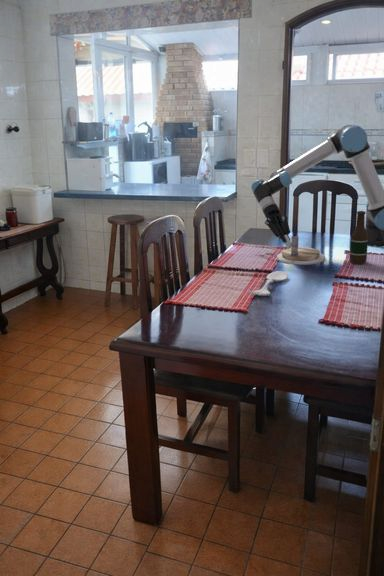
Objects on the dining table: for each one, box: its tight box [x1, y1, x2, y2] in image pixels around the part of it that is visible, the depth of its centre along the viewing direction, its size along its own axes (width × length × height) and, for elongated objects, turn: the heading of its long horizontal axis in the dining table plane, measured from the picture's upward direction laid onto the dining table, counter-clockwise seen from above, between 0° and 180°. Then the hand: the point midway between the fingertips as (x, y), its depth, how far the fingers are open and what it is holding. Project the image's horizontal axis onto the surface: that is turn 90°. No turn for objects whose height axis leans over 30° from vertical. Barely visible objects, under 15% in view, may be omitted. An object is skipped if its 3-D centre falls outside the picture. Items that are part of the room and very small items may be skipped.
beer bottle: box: [349, 210, 369, 265], centre depth 237 cm, size 8×8×24 cm
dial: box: [281, 235, 321, 261], centre depth 249 cm, size 18×18×11 cm
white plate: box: [276, 252, 326, 266], centre depth 251 cm, size 23×23×1 cm
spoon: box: [247, 270, 289, 297], centre depth 212 cm, size 9×32×4 cm, turn 155°
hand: (290, 247), depth 245 cm, fingers closed
